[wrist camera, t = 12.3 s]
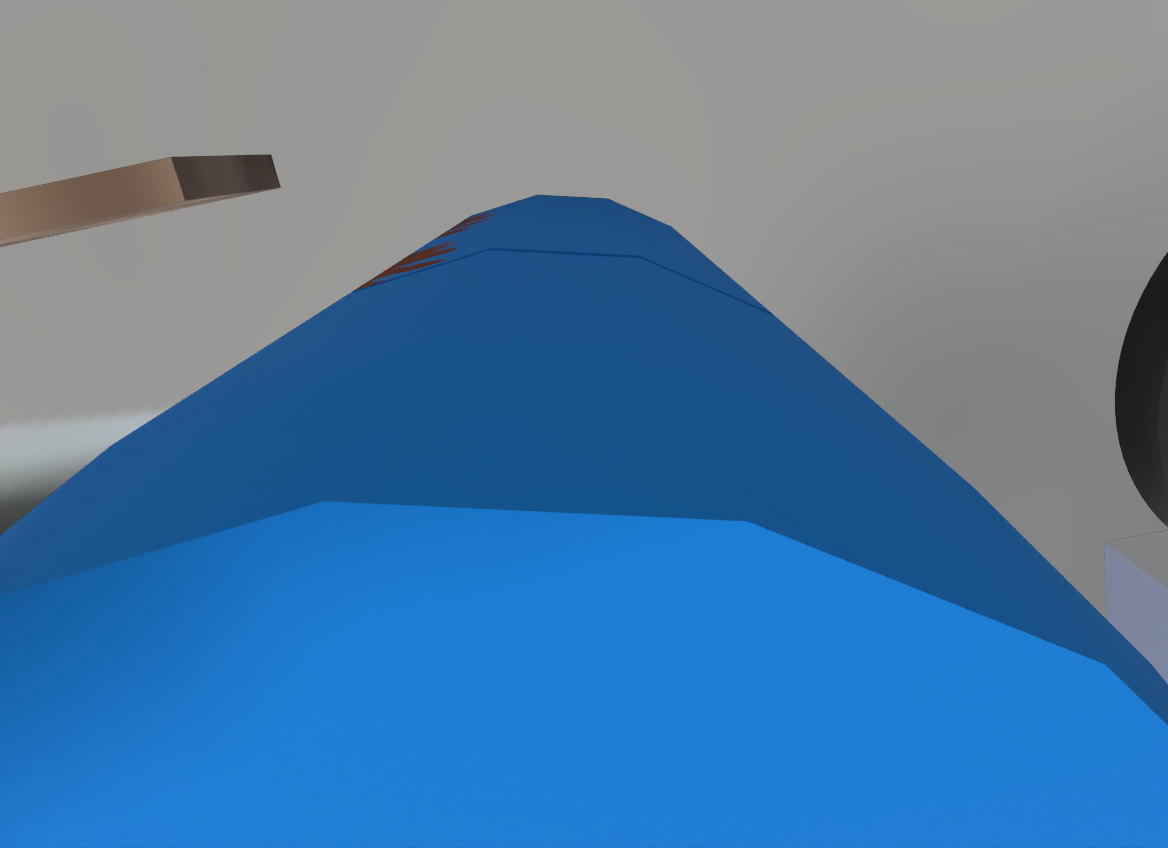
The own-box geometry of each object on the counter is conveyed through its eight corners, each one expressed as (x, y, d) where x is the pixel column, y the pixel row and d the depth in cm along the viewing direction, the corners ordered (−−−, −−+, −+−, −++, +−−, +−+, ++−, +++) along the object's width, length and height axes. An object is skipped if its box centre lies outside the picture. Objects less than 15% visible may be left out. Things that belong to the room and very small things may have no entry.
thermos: (780, 428, 30) (1571, 1531, 6) (500, 560, 31) (252, 1877, 7) (639, 124, 27) (1096, -41, 3) (338, 284, 28) (-915, 1003, 5)
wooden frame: (271, 154, 27) (159, 157, 20) (404, 611, 32) (353, 748, 25) (-308, 278, 28) (-614, 323, 21) (-96, 703, 33) (-287, 860, 26)
